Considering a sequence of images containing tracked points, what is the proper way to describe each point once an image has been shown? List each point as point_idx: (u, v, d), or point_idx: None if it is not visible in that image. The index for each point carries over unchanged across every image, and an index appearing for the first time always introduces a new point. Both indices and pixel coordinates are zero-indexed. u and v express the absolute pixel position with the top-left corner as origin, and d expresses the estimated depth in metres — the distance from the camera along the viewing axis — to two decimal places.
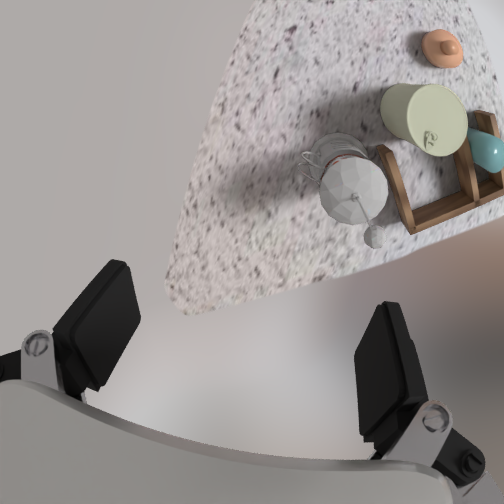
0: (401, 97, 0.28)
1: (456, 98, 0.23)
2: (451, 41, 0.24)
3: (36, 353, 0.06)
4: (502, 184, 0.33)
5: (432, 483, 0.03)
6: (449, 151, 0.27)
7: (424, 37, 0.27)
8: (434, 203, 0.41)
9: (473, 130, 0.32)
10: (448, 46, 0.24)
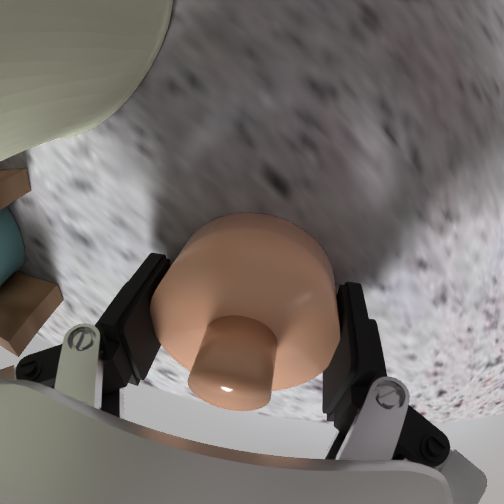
0: None
1: None
2: (258, 402, 0.08)
3: (79, 347, 0.07)
4: None
5: (432, 483, 0.03)
6: None
7: (327, 267, 0.10)
8: None
9: None
10: (237, 381, 0.07)
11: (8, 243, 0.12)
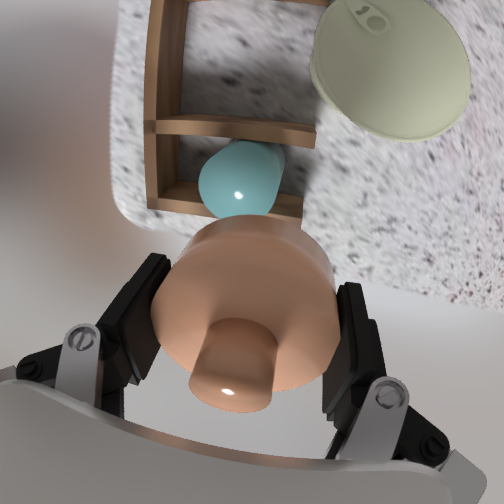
0: None
1: (422, 134, 0.12)
2: (259, 404, 0.08)
3: (79, 347, 0.07)
4: (165, 198, 0.25)
5: (432, 483, 0.03)
6: (322, 44, 0.11)
7: (328, 269, 0.10)
8: (180, 52, 0.21)
9: (282, 172, 0.24)
10: (238, 384, 0.07)
11: (284, 165, 0.25)
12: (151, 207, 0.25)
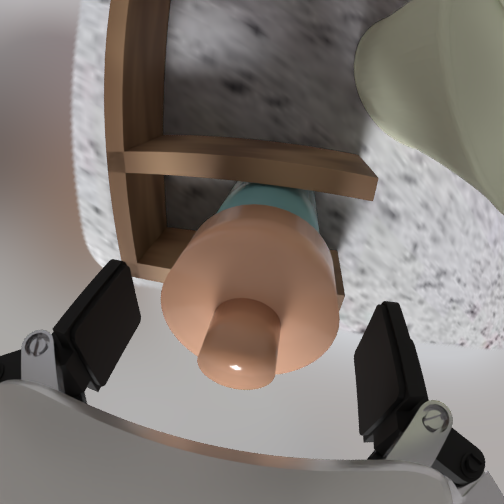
0: None
1: None
2: (263, 379, 0.08)
3: (36, 353, 0.06)
4: (147, 263, 0.17)
5: (432, 483, 0.03)
6: (454, 35, 0.04)
7: (327, 255, 0.10)
8: (162, 44, 0.14)
9: None
10: (244, 357, 0.08)
11: None
12: None
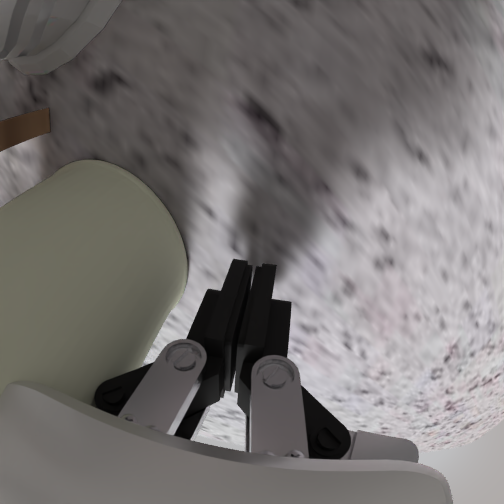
0: (30, 359, 0.05)
1: None
2: None
3: (177, 364, 0.07)
4: None
5: (432, 483, 0.03)
6: None
7: None
8: None
9: None
10: None
11: None
12: None
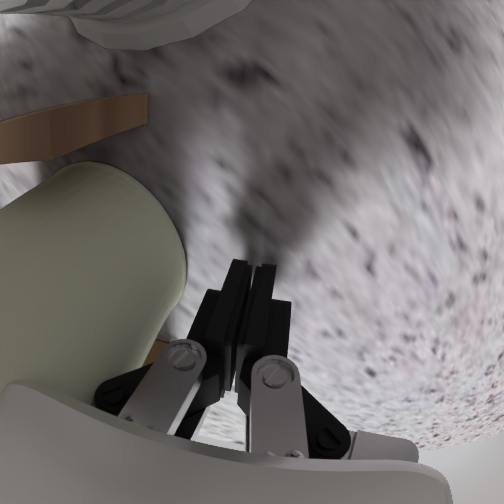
0: (30, 361, 0.04)
1: None
2: None
3: (177, 364, 0.07)
4: None
5: (432, 483, 0.03)
6: None
7: None
8: None
9: None
10: None
11: None
12: None
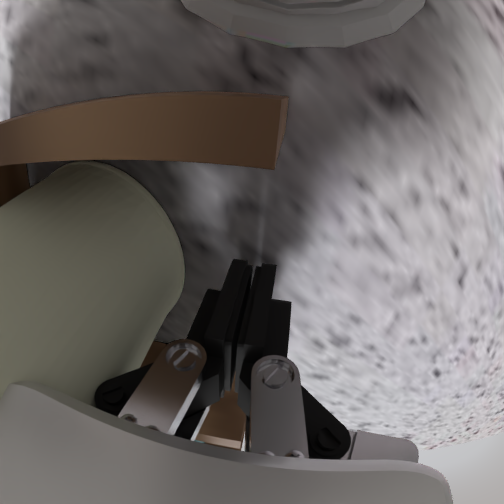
0: (29, 365, 0.04)
1: None
2: None
3: (177, 364, 0.07)
4: None
5: (432, 483, 0.03)
6: None
7: None
8: None
9: None
10: None
11: None
12: None
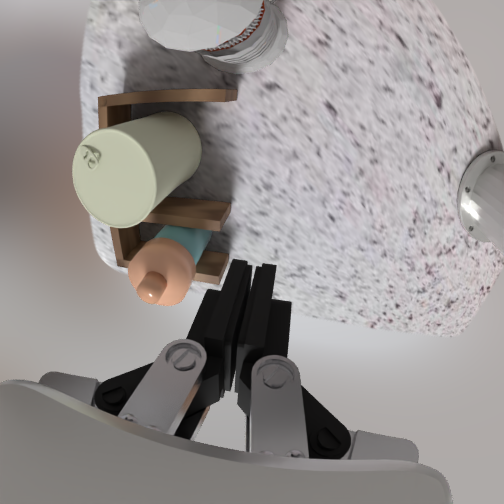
0: (163, 142, 0.23)
1: (132, 222, 0.23)
2: (156, 298, 0.25)
3: (177, 364, 0.07)
4: (128, 260, 0.34)
5: (432, 483, 0.03)
6: (75, 180, 0.22)
7: (186, 257, 0.27)
8: None
9: (206, 242, 0.34)
10: (149, 289, 0.25)
11: (209, 234, 0.35)
12: (120, 265, 0.35)
